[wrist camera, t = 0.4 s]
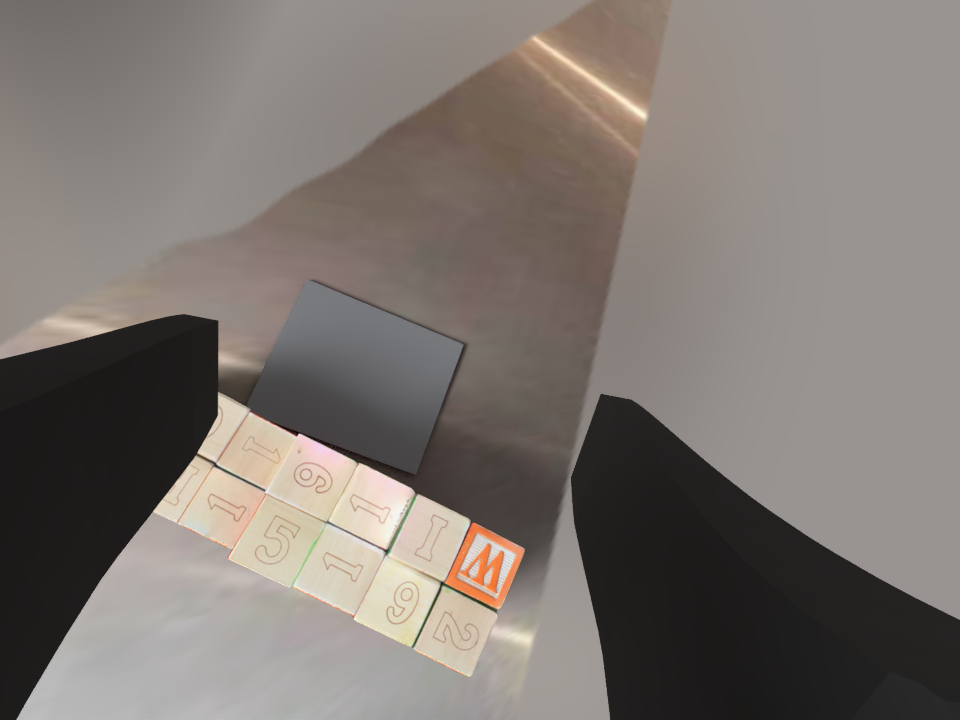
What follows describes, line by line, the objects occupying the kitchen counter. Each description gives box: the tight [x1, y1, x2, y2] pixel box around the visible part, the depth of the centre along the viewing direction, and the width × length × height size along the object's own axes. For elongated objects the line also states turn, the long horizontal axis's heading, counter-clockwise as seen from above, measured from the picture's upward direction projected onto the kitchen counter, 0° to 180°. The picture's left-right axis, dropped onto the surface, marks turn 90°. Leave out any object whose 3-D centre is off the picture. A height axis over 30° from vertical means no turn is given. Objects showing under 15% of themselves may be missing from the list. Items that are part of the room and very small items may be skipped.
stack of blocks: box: [153, 392, 525, 677], centre depth 31 cm, size 21×6×12 cm, turn 63°
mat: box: [246, 279, 464, 475], centre depth 39 cm, size 10×12×1 cm
